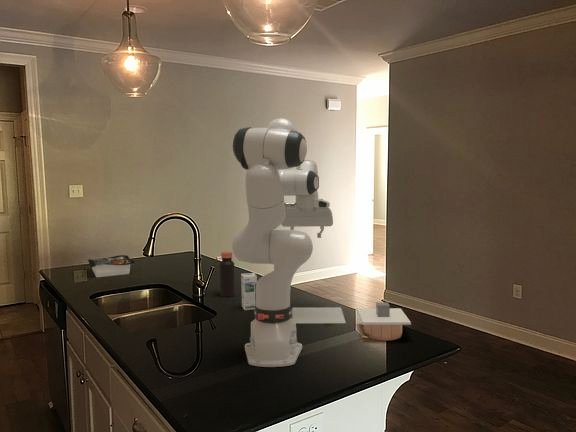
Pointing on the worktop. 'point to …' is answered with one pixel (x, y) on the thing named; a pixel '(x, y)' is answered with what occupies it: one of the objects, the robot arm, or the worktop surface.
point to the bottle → (227, 275)
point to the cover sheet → (376, 320)
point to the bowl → (383, 332)
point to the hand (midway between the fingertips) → (307, 237)
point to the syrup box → (248, 290)
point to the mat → (318, 315)
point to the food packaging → (111, 266)
